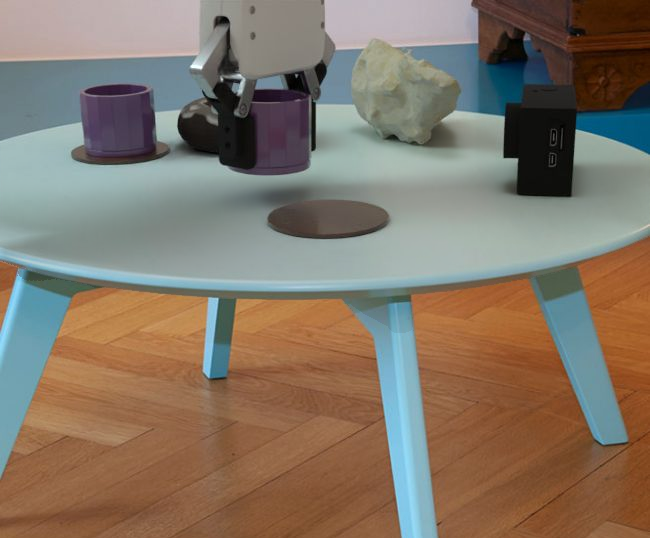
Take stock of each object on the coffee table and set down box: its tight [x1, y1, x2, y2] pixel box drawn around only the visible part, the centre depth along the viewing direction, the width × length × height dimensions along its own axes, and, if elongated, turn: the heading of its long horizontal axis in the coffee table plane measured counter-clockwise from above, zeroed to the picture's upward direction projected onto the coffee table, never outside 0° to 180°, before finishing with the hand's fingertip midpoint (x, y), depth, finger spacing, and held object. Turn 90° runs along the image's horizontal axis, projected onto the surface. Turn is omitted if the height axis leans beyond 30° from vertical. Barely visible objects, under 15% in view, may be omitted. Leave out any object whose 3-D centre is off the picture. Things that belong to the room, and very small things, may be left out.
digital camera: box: [502, 83, 578, 197], centre depth 93 cm, size 10×5×7 cm, turn 169°
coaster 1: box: [70, 140, 170, 165], centre depth 105 cm, size 9×9×1 cm
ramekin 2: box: [226, 87, 312, 177], centre depth 88 cm, size 7×7×6 cm
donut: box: [176, 96, 219, 154], centre depth 107 cm, size 12×12×4 cm
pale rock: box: [350, 37, 462, 145], centre depth 106 cm, size 18×10×7 cm
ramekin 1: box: [78, 82, 158, 158], centre depth 104 cm, size 7×7×6 cm
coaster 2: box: [267, 198, 390, 239], centre depth 84 cm, size 9×9×1 cm
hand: (268, 155), depth 89 cm, fingers closed on ramekin 2, 6 cm apart
